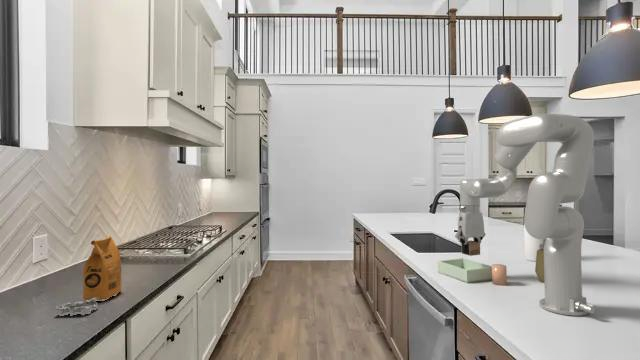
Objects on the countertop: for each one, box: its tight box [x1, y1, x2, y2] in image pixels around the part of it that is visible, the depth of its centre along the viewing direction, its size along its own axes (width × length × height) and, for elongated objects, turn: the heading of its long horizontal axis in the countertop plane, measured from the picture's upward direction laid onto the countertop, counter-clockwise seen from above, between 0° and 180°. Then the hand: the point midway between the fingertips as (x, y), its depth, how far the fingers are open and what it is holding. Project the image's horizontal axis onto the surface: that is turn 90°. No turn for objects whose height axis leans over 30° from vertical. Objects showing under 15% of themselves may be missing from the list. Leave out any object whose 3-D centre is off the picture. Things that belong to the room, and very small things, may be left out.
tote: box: [437, 257, 492, 284], centre depth 144 cm, size 18×14×5 cm
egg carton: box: [55, 297, 99, 314], centre depth 112 cm, size 11×8×4 cm
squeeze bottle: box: [534, 239, 546, 283], centre depth 134 cm, size 8×8×18 cm
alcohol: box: [523, 223, 543, 263], centre depth 168 cm, size 9×9×30 cm
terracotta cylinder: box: [491, 263, 508, 287], centre depth 133 cm, size 5×5×7 cm
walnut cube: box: [460, 240, 481, 257], centre depth 141 cm, size 5×5×5 cm
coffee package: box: [82, 235, 122, 301], centre depth 127 cm, size 10×12×22 cm
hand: (470, 252), depth 141 cm, fingers closed on walnut cube, 4 cm apart
